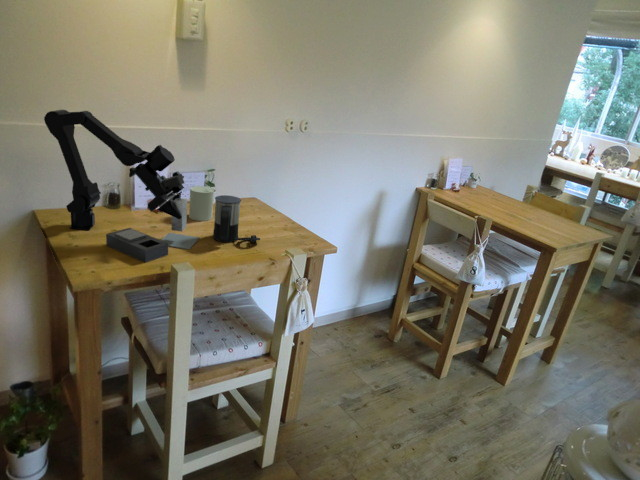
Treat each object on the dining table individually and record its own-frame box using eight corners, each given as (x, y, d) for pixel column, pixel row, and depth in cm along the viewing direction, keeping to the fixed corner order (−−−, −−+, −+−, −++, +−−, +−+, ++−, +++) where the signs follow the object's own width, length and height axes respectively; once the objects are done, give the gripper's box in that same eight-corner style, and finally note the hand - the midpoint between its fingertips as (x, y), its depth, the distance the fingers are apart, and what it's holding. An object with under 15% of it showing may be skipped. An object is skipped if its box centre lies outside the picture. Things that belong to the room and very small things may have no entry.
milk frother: (210, 233, 178) (212, 194, 173) (252, 232, 184) (255, 195, 179) (218, 248, 166) (220, 207, 161) (262, 247, 172) (266, 207, 167)
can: (200, 222, 187) (202, 192, 183) (183, 216, 191) (184, 186, 187) (217, 218, 194) (219, 189, 190) (200, 211, 199) (202, 183, 194)
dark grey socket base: (106, 245, 156) (106, 232, 154) (129, 238, 164) (129, 226, 162) (145, 262, 148) (145, 248, 147) (168, 254, 156) (168, 241, 154)
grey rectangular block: (171, 230, 163) (172, 201, 160) (176, 225, 168) (177, 198, 164) (181, 231, 163) (182, 203, 160) (186, 227, 167) (187, 199, 164)
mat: (156, 244, 162) (156, 243, 162) (169, 233, 172) (169, 232, 172) (189, 249, 162) (189, 248, 162) (199, 238, 172) (199, 237, 172)
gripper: (158, 171, 149) (191, 210, 153) (179, 159, 167) (209, 195, 170) (132, 191, 152) (166, 230, 156) (156, 178, 170) (186, 213, 173)
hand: (183, 216), depth 164 cm, fingers closed on grey rectangular block, 4 cm apart
